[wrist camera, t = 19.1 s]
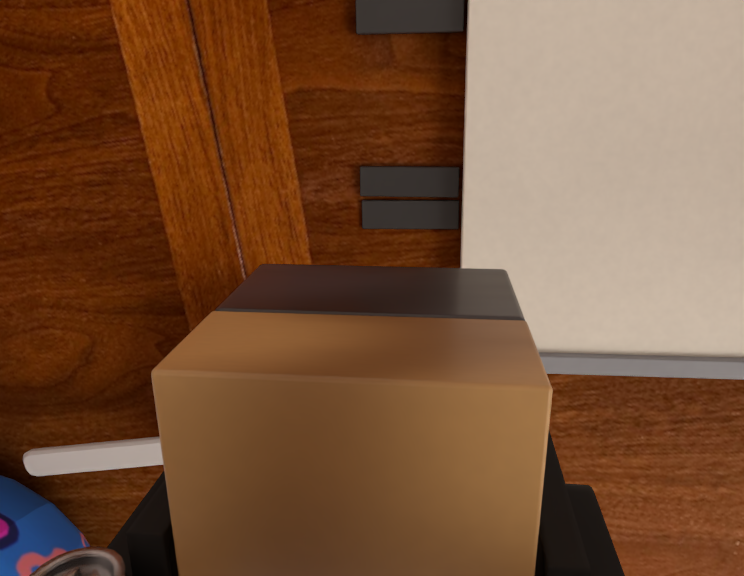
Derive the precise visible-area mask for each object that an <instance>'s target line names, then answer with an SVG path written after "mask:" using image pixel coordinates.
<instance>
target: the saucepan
mask: <svg viewBox="0 0 744 576" xmlns="http://www.w3.org/2000/svg"><path fill="white" fill-rule="evenodd" d="M23 463H24V466H25V468H26V470H27V471H28V472H29V474H30V475H34V476H46V475H57V474H68V473H78V472H89V471H100V470H110V469H121V468H132V467H142V466H153V465H163V458H162V451H161V443H160V437H149V438H139V439H129V440H119V441H109V442H98V443H88V444H78V445H68V446H58V447H47V448H37V449H31V450H29V451H27V452H26V453H25V454H24V455H23Z"/></svg>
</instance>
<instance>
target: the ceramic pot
mask: <svg viewBox="0 0 744 576" xmlns="http://www.w3.org/2000/svg"><path fill="white" fill-rule="evenodd" d="M84 547H91V546H90V545H89V543H88V542H87V540H86V538H85V537H84V535H83V534H82V533H81V532H80V531H79V529H78V528H77V527H76V526H75V525H74V524H73V523H72V522H71V521H70V520H69V519H68V518H67V517H66V516H65V515H64V514H63V513H62V512H61V511H60V510H59V509H58V508H57V507H56V506H55V505H54V504H53V503H51V502H50V501H48V500H47V499H45V498H43V497H42V496H40V495H38V494H37V493H35V492H33V491H32V490H30V489H28V488H27V487H25V486H24V485H22V484H20V483H19V482H17V481H15V480H13V479H10V478H7V477H4V476H1V475H0V576H29V575H30V574H31V573H33V572H34V571H35V570H36V569H37V568H38V567H40V566H41V565H42V564H44V563H45V562H47V561H49V560H50V559H52V558H54V557H56V556H57V555H60V554H63V553H65V552H68V551H71V550H73V549H79V548H84Z"/></svg>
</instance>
